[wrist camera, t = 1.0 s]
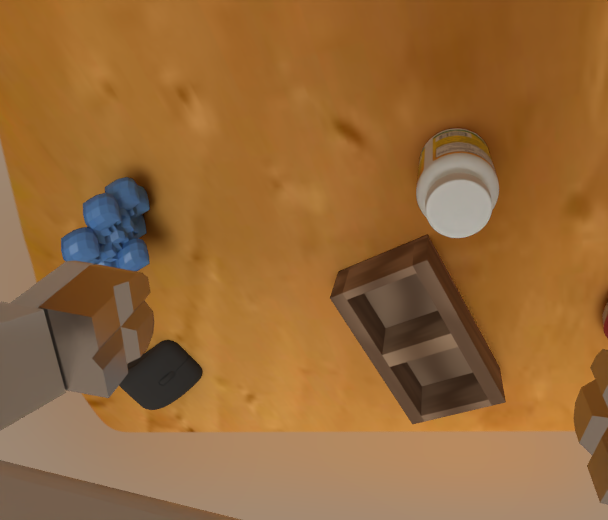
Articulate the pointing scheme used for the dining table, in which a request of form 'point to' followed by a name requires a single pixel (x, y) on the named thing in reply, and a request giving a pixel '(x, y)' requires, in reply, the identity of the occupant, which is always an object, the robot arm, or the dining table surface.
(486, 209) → the supplement bottle
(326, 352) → the dining table surface
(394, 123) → the dining table surface
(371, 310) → the small wooden cubby shelf
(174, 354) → the computer mouse
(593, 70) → the dining table surface
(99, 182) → the dining table surface
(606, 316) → the toy boat
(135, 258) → the grapes
